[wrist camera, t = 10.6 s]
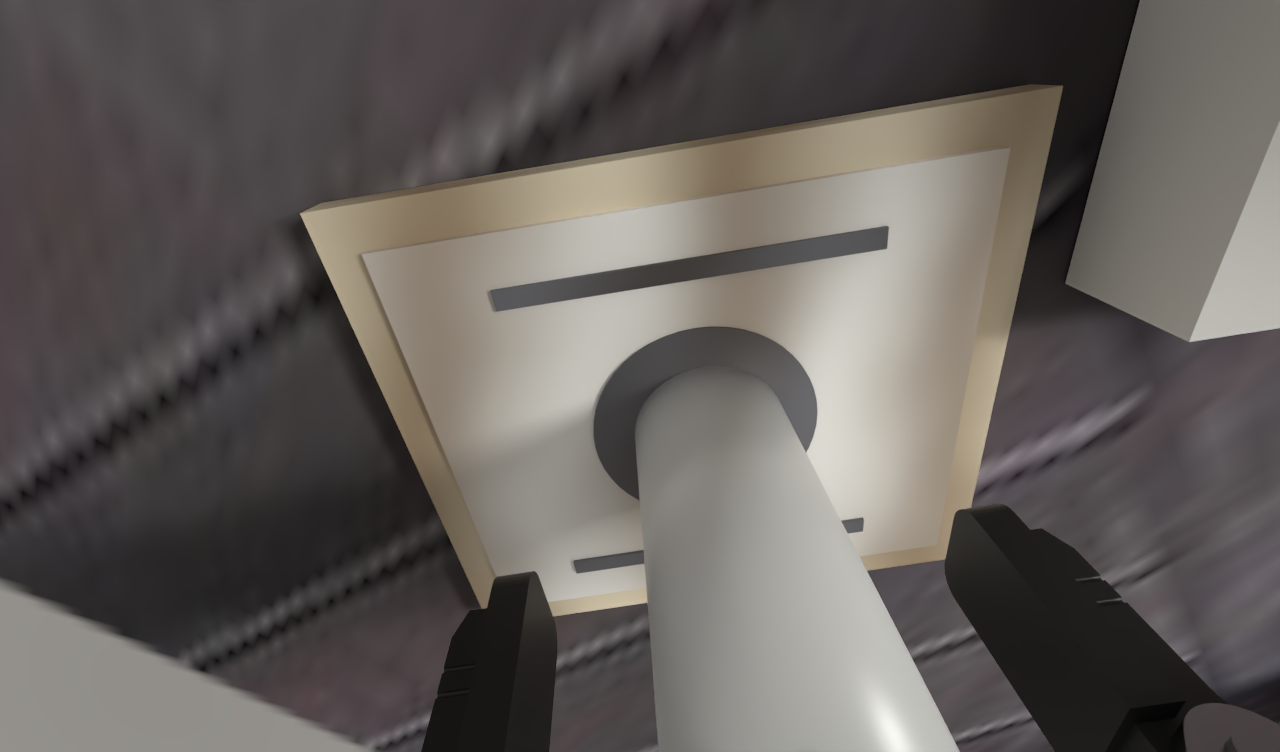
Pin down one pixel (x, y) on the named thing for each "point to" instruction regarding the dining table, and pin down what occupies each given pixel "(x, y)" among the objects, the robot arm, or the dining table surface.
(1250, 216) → the button housing
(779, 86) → the dining table surface
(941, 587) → the dining table surface
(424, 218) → the paper board
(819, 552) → the marker
